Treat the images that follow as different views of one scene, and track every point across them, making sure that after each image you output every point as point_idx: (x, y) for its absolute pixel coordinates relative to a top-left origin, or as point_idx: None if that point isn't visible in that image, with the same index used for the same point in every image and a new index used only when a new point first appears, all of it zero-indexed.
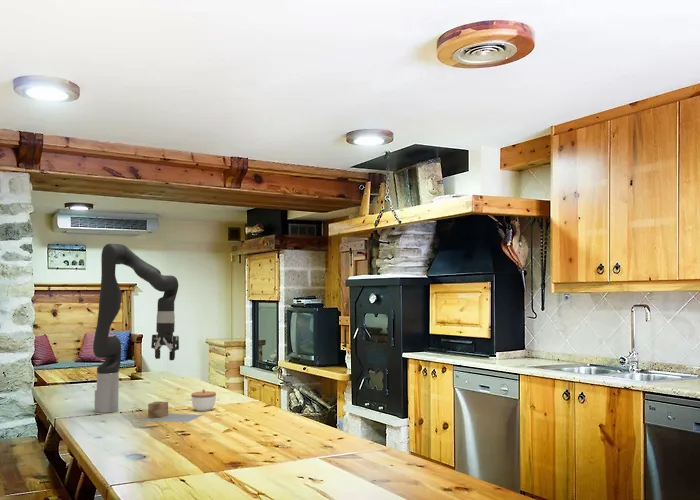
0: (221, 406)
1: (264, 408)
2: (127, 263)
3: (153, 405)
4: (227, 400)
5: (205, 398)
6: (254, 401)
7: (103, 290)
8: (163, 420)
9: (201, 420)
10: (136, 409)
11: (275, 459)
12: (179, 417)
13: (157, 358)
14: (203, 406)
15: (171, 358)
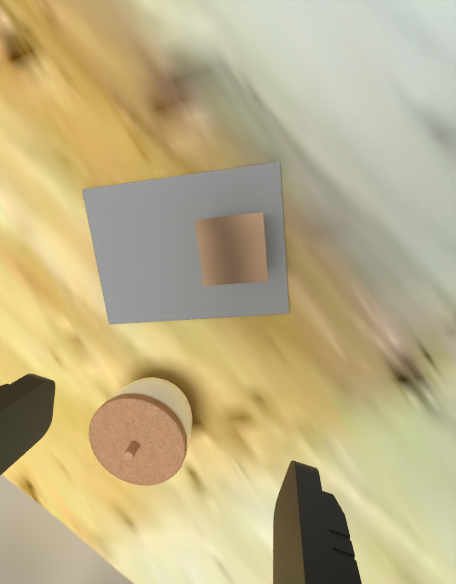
0: None
1: None
2: None
3: (235, 215)
4: (187, 561)
5: (110, 398)
6: (100, 548)
7: None
8: (182, 194)
9: (70, 247)
10: (431, 389)
11: None
12: (159, 261)
13: (288, 475)
14: (133, 381)
15: (9, 390)
